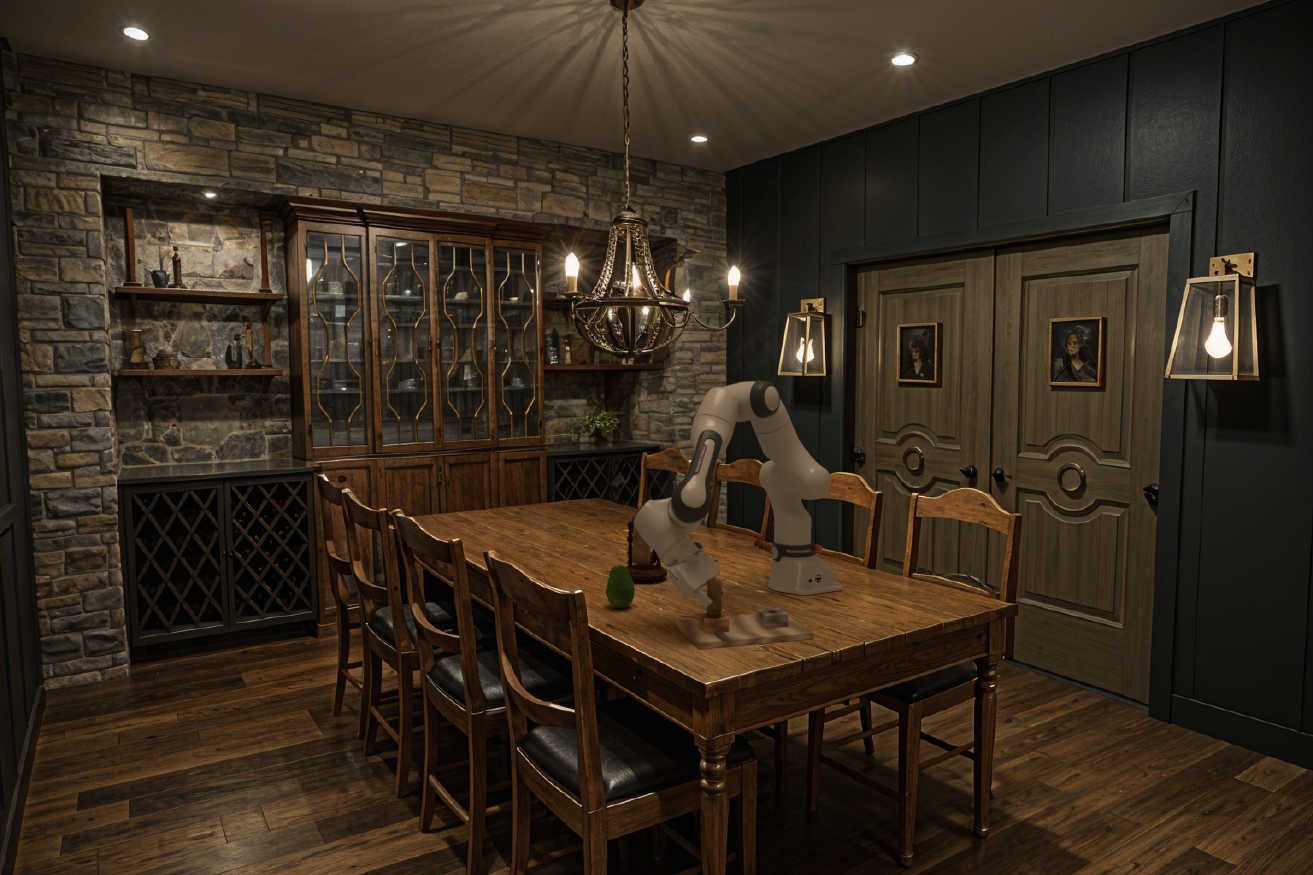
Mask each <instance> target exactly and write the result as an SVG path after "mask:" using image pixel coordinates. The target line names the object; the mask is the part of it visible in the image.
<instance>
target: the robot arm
mask: <svg viewBox="0 0 1313 875" xmlns="http://www.w3.org/2000/svg"><path fill="white" fill-rule="evenodd" d="M780 396H781V395H780V392H779V390H778V388H777V387H776V385H774V383H772V382H771V381H768V380H759V379H758V380H756V381H754V380H753V381H751V380H750V381H740V382H736V383H733V384H728V385H721V386H715V387H712V388H711V389H709V390H708V391H707V392H706V394H705V396H704V397H703V399H702V400H701V402H700V405H699V407H698V409H697V412H696V414H695V417H694V420H693V423H692V426H691V432H690V439H689V442H690V446H691V447H692V448H693V454H692V457H691V460H690V463H689V467H688V469H687V473H686V474H685V477H684V478H683V479H682V480H681V482H679V483H678V484H677V486H675V488H674V490H673V492H672V493H671V497H668V498H663V499H648V500H647V501H646V502H644V503H643V504H642V505H641V506H640V507H639V509H638V510H637V511H636V512H635V514H634V516H635V517H634V516H633V517H634V526H635V528H636V530H637V531H638V533H639V534H640V535H641V537H642V538H643V539H644V541H645V542H646V543H647V544H648V546H650V547H651V549H652V550H653V549H654V550H655V552H656V553H657V555H658V557H659V559H660V562H661V563H662V564H663V565H664V566H665V567H666V570H667V573H668V577H669V579H670V581H671V582H672V584H673V585H674V587H675V588H676V589H677V591H678V592H679V593H680V595H681V596H682V597H684V598H689V597H690V596H691V595H692V596H693V597H694V598H695V599H696V600H699V601H700V602H701V603H702V604H703V605H704V606H705V607H706V608H707V607H708V606H709V605H710V604H711V603H712V602H713V600H712V599H711V598H710V597H709V596H707V594H706V593H705V592H703V590H702V588H703V587H704V586H707V581H708V580H709V579H718V578H717V577H718V576H719V575H720V574H721V571H720V568H719V566H718V565H717V563H716V562H715V561H714V559H713V558H712V557H711V556H710V554H709V553H707V551H705V550H704V548H705V547H704V545H703V544H702V543H701V542H699V541H693V540H691V539H689V538H688V537H687V536H686V534H688V533H689V532H692V531H693V530H696V529H697V528H698V527H699V526H700V525H701V523H702V521H703V520H704V519H705V517H706V516H707V515H708V513H709V512H710V510H711V508H712V505H713V504H712V503H713V496H712V490H711V482H712V479H713V475H714V471H715V468H716V465H717V461H718V460H719V457H720V456H721V455H723V454H724V453H725V451H726V449H727V447H728V445H729V443H730V442H731V439H732V437H733V434H734V430H735V427H736V423H741V422H743V423H745V422H747V421H750V422H751V426H752V428H753V430H754V433H755V436H756V438H757V441H758V443H759V445H760V447H761V451H762V453H763V454H764V455H765V456H766V458H768V459H769V460H768V461H765V462H764V463H763V464H762V465H761V468H760V470H759V473H758V474H759V475H758V479H759V483H760V485H761V486H762V488H763V489H764V490H765V491H766V493H767V496H768V499H769V501H770V504H771V507H772V510H773V511H772V513H773V518H774V519H773V520H774V521H773V523H774V524H773V527H774V528H773V529H774V532H773V533H774V534H773V536H774V537H773V538H774V539H773V541H772V547H773V548H772V553H771V555H772V566H771V572H770V577H769V580H768V582H767V583H768V584H767V587H768V588H769V589H770V590H773V591H777V592H780V593H781V592H782V593H786V594H788V593H789V594H794V595H795V594H796V595H801V596H808V595H809V596H811V595H816V594H824V593H830V592H838V591H842V590H843V586H842V584H841V583H840V582H838V581H836V580H835V573H834V570H833V568H832V567H831V565H830V564H828V563H827V562H826V561H825V560H823V559H822V558H821V557H820V556H818V554H817V553H816V552H819V553H820V552H822V551H823V546H822V545H820V544H818V543H817V544H815V543H814V542H812V517H811V515H810V513H809V512H808V511H807V510H806V509H805V507H804V505H803V502H802V500H807V501H810V500H812V501H814V500H821V499H823V498H825V497H826V496H827V495H828V493H829V492H830V489H831V486H832V477H831V474H830V472H829V471H828V470H827V469H826V468H825V467H823V466H822V465H820V464H819V463H818V461H816V460H815V459H814V458H813V457H812V456H811V454H810V453H809V451H808V450H807V449H806V448H805V446H804V445H803V444H802V442H801V440H800V439H799V437H798V435H797V431H796V430H795V427H794V425H793V423H792V420H791V418H790V415H789V413H788V410H787V409H786V407H785V405H784V403H783V402H782V399H781V397H780ZM725 593H726V590H725V589H724V587H722V596H723V595H724V594H725Z"/></svg>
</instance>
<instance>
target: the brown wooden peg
mask: <svg viewBox="0 0 1313 875" xmlns="http://www.w3.org/2000/svg"><path fill="white" fill-rule="evenodd" d="M706 586H707V587H706V590H707V591H706V596H709V597H710V598H711V599H712V600H713V602H712V603H711V604H710V605H709V606H708V607H706V613H707V617H708V618H713V619H717V618H721V613H722V599H723V598H722V596H723V595H722V588H723V581H722V580H721V579H719V578H717V579H709V580H708V581H707V584H706Z"/></svg>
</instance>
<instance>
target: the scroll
mask: <svg viewBox="0 0 1313 875" xmlns="http://www.w3.org/2000/svg"><path fill="white" fill-rule="evenodd" d="M634 517H635V515H633V517H632V518H631V520H630V521H627V524H626V525H627V526H628V527H627V529H628V531H627V537H626V542H627V543H628V546H627V552H626V555H627V558H628V560H627V566H625V567H626V568H627V570H628V572H629V574H630V576H631V578H632V580H633V581H634V580H635V581H651V582H652V585H653V584H656V581H657V580H659V579H660V580H661V579H663V578H666V577H667V576H668V571H667V570H668V569H667V568H665V567H663V566H662V561H661V560H660V559H659V557H658V555H657V553H656V552H655V550H654V549H652V548H651V547H650V546H648V544H647V543H646V542H645V541H644V539H643V538H642V537H641V535H640V534H639V533H638V531H637V530H636V528H635V526H634ZM651 549H652V550H651Z"/></svg>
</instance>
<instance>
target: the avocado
mask: <svg viewBox="0 0 1313 875" xmlns="http://www.w3.org/2000/svg"><path fill="white" fill-rule="evenodd" d="M608 575H609V576H608V579H607V583H606V588H605V589H606V590H605V594H606V599H607V600H608V602H609V604H610V605H611V606H613V607H615V608H619V609H625V608H627V607H629V606H630V605H631V604H632V603H633V601H634V597H635V594H636V591H635V583H634V580H633V579H632V578H631V576H630V574H629V572H628V570H627V568H626V566H624V565H623V564H617V565H615V566H613V567H612V568H611V569H610V572H609V574H608Z"/></svg>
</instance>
